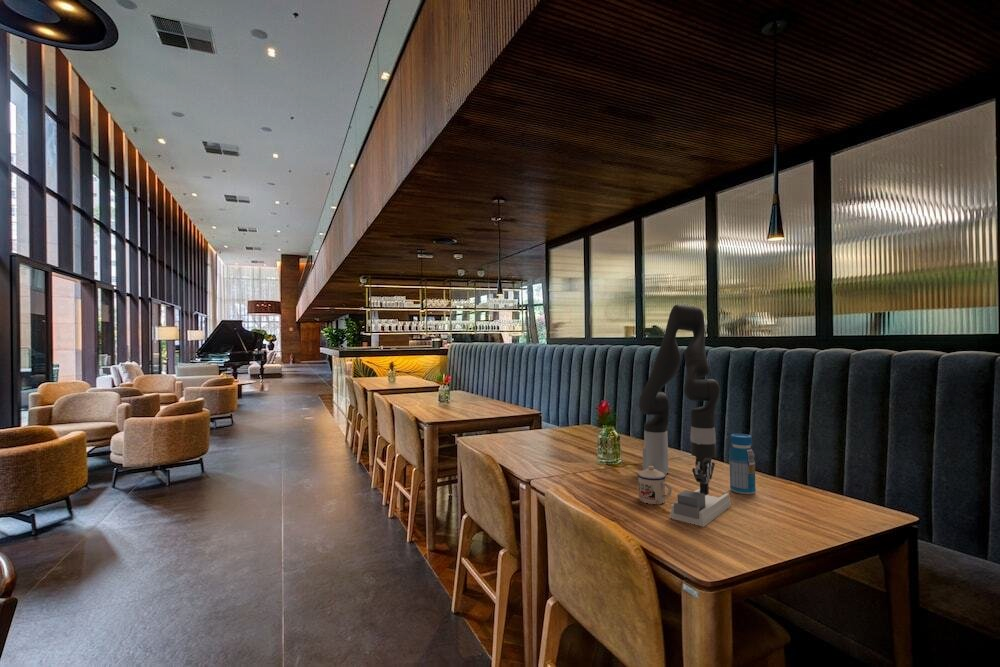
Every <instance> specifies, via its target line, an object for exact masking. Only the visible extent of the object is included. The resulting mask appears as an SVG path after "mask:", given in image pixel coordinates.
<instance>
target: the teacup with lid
mask: <svg viewBox="0 0 1000 667" xmlns="http://www.w3.org/2000/svg"><path fill="white" fill-rule="evenodd" d="M637 478H638V481H637V482H638V500H639V501H640V502H641V501H642V502H641V503H643V502H644V504H646V503H648V504H647V505H653V504H658V505H662V503H663V504H665V503H666V499H667V498H669V497H671V494H672V492H673V490H672V486H671V484H669V483H668V482H666V474H664V473H662V472H660V471H658V470H656V469H654V466H648V469H645V470H643V469H642V470H640V471H638V473H637ZM666 487H667V490H668V492H667V494H666ZM664 502H665V503H664Z"/></svg>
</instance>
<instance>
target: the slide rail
mask: <svg viewBox="0 0 1000 667" xmlns="http://www.w3.org/2000/svg"><path fill="white" fill-rule="evenodd" d="M693 492H698V493H700V487H699V488H698V489H695V490H694V491H693ZM731 504H732V503H731V500H730V493H727V492H725V493H724V494H723V495H721V496H720V497H717V496H713V495H709V494H708V495H705V508H704V509H702V510H701V511H700V512H699V508H698V507H693V506H689V505H685V504H681V503H678V500H677V501H675V502H674V503H672V504H670V511H669V514H670V517H669V518H670V519H671V518H672V519H671V520H676V521H680V522H683V523H688V524H690V523H691V524H690V525H694V524H695V526H698V525H699V527H701V528H702V527H703V528H705V527H706V526H707V525H708V524H709V523H711V522H712V521H713V520H715V519H716V518H717V517H719V516H721V514H723V513H724V512H725V511H726V509H727V508H728V509H729V508H731V506H732V505H731ZM728 509H727V510H728Z"/></svg>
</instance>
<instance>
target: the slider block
mask: <svg viewBox="0 0 1000 667" xmlns="http://www.w3.org/2000/svg"><path fill="white" fill-rule="evenodd" d="M676 496H677V498H676V499H677V501H678V503H681V504H685V505H689V506H693V507H698V508H699V512H700V511H701V510H702V509H704V508H705V494H703V493H698V492H694V491H693V490H688V489H685V490H682V491H681V492H679V493H677V495H676Z"/></svg>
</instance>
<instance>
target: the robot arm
mask: <svg viewBox="0 0 1000 667" xmlns="http://www.w3.org/2000/svg"><path fill="white" fill-rule="evenodd" d="M705 327H706V326H705V315H704V311H703V310H702V308H701V307H699V306H695V305H686V304H679V303H678V304H677V303H676V304H675V305H673V306H672V307H671V310H670V312H669V316H668V319H667V324H666V327H665V331H664V334H663V338H662V341H661V344H660V347H659V350H658V352H657V354H656V357H655V360H654V364H653V366H652V369H651V372H650V375H649V377H648V380H647V382H646V384H645V386H644V388H643V390H642V391H641V394H640V395H639V396H640V397H639V399H638V400H639V401H638V408H639V411H640V412H641V413H642V414H643V415H646V416H647V415H650V416H652V415H654V416H653V417H652V419H651V420H649V421H647V422H645V423H644V425H643V431H644V432H643V433H644V434H643V435H644V441H643V442H644V447H643V448H642V468H643V469H642V471H643V470H645V469H648V466H654V469H656V470H658V471H660V472H662V473H664V474H665V475H667V473H668V472H669V444H668V443H669V442H668V441H669V440H668V438H669V437H668V427H669V414H670V412H669V411H670V409H669V408H670V402H669V398H668V396H667V394H666V393H665V392H663V391H660V390H661V389H662V388H664V387H665V386H666V385H667V384H668V383H669V382H670V381H672V379H673V378H675V376H676V375H677V374H678V371H679V369H680V366H681V363H682V361H683V360H682V359H683V358H682V353H681V351H680V348H679V346H678V342H677V338H676V337H677V333H678V331H679V330H680V331H688V332H692V334H693V337H692V339H691V341H690V342H689V344H688V345H687V347H686V349H685V350H684V363H685V364H684V365H685V368H686V379H685V383H684V390H683V391H684V395H685V397H686V399H687V400H689V401H692V402H694V401H695V402H696V401H697V402H698V401H699V402H704V401H705V404H704V405H702V406H698V407H693V408H692V409H691V411H690V433H689V434H690V438H689V439H690V454H691V455H692V456H693V457H694V456H695V468H694V467H692V469H691V471H692V474H693V476H694V479H695V481H696V483H699V488H700V493H703V494H705V495H709V494H710V493H709V492H710V490H709V487H710V485H709V483H710V481H711V480H712V477H713V474H714V468H715V465H716V464H715V462H714V461H712V458H714V457H716V456H717V438H716V437H717V434H716V429H715V428H716V427H715V426H716V425H715V422H716V421H715V414H716V413H715V412H716V408H717V407H716V406H717V404H718V400H719V397H720V392H721V387H720V384H719V383H718V381H717V380H715V379H713V378H705V377H707V376H708V375H709V374H710V366H709V362H708V358H707V352H706V333H705V332H706V330H705ZM668 474H669V473H668Z"/></svg>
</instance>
